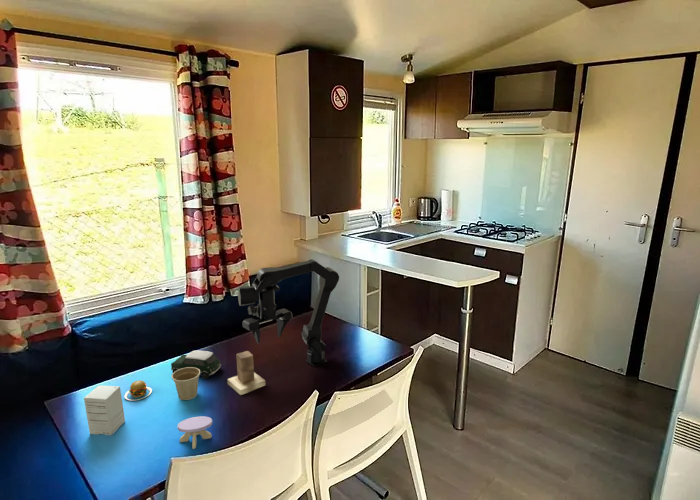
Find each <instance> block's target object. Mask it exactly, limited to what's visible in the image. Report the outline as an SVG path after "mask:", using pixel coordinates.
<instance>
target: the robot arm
mask: <svg viewBox="0 0 700 500" xmlns="http://www.w3.org/2000/svg"><path fill="white" fill-rule="evenodd" d="M313 272H314V273H315V274H316V275H318V276H319V282H318V283H319V290H318V293H317V297H316V301H315V304H314V307H313V310H312V314H311V317H310V320H309V323H307V325H306V324H303V328H302V331H301V333H300V335H301V338H302V340H303V342H304V343H305V344H306V345H307V347H308V348H307V352H306V359H305V362H306V363H308V364H310V365H311V366H313V367H318V366H321V365H323V364H325V363H327V362H328V359H326V357H325V354H326V352H325V351H326V349H327V345H326V344H325V343H324V342H323V340H322V324H323V321H324V317H325V314H326V311H327V306H328V304H329V300H330V296H331V294H332V292H333V291H334V290H335V289H336V287H337V285H338V283H339V281H340V275H339V273H338V272H337V271H336V270H334V269H333V268H331V267H329V266H328V267H327V266H326V267H325V266H323V265H322V264H320V263H319V262H318V261H316V260H315V259H308V260H305V261H302V262H297V263H293V264H288V265H285V266H280V267H273V266H271V267H270V266H269V267H262V268H259V269H258V271H257V273H256V278H255V279H254V280H253V282H252V283H251V286H238V291H237V293H238V294H237V300H238V305H239V307H242V306H247V313H248V315H252V316H253V317H254V316H256V318H259V319H256V318H253V317H249V318H245V319H243V321H242V322H241V324H242V328H244V329H245V330H247V331H249V332H250V333H252V335H253V337H254V339H255V341H256V343H257V345H259V344H260V343H261V329H260V325H261V324H264V323H269V322H272V321H275V320H276V323H277V326H276V329H277V331H276V332H277V337H278V338H280V337H281V336H282V333H283V332H284V329H285V328H286V326H287V324H288V323H289V322H290V320H292V319H293V313H292V311H290V310H288V309H287V308H281V309H277V308H278V304H276V302H275V299H276V298H275V291H280V289H281V288H280V287H279V286H278V283H280V282H281V281H282V280H283V281H284V280H285V279H287V278H293V277H295V276H296V277H297V276H301V275H304V274H308V273H313ZM258 302H259V303H258ZM256 303H257V306H255V304H256ZM248 305H249V306H248ZM276 309H277V310H276Z"/></svg>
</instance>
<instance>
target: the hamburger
mask: <svg viewBox="0 0 700 500" xmlns="http://www.w3.org/2000/svg"><path fill="white" fill-rule="evenodd" d="M129 388H130V389H129V390H127V391H126V392H125V394H124V399H126V400H127V401H130V402H131V401H135V399H130V398H128V395H129V394H130V396H132V398H139V399H137V401H139V400H143V399H145V398H146V397H148V396H150V395H151V394H152V392H153V389H152V388H151V387H149V386H147V384H146V382H145V381H144V380H135V381H133V382H132V383H131V384H130V386H129ZM147 390H148V392H149V393H148V394H147ZM146 394H147V395H146ZM145 395H146V396H145ZM143 396H144V397H143ZM140 397H142V398H140Z"/></svg>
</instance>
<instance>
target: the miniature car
mask: <svg viewBox="0 0 700 500" xmlns="http://www.w3.org/2000/svg"><path fill="white" fill-rule="evenodd" d="M170 364H171V365H170V366H171V368H170V371H172V374H173V373H174V372H175V371H177V370H179V369H182V368H187V367H194V368H198V369H199V370H200V377H201V378H202V379H203V380H207V379H208V378H209V377H210V376H212V375H214V374H215V373H216V372H217V371H219V369H220V368H221V366H222V363H221V361H220V360H219V358H218V357H216V355H215V353H214V352H213V351H206V350H198V349H197V350H192V351H190V352H189V353H187V354H181V355H180V357H178V358H177V359H176V360H175V361H173V362H171V363H170Z"/></svg>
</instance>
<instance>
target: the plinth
mask: <svg viewBox="0 0 700 500" xmlns="http://www.w3.org/2000/svg"><path fill="white" fill-rule="evenodd" d="M227 385H228V386H229V387H230V388H231V389H233V390H234V392H236V393H237V394H238V395H239V396H242V395H245V394H248V393H250V392H253V391H255V390H257V389H261V388H262V387H265V386H266V380H265V379H264V378H262V377H261V376H260V375H259V374H257V373H256V372H255V371H254V381H251V382H248V383H245V384H242V383H241V382H240V381H239V380H238V374H237V375H234V376H232V377H229V378H227Z"/></svg>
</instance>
